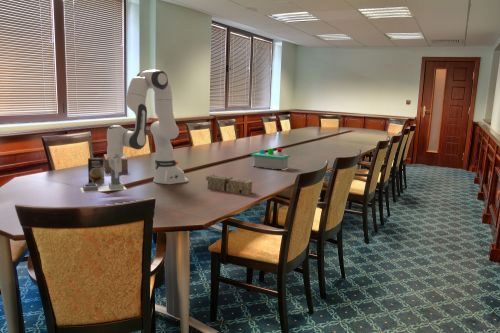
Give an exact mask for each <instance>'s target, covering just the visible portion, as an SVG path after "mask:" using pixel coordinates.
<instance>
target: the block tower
mask: <svg viewBox="0 0 500 333" xmlns="http://www.w3.org/2000/svg"><path fill="white" fill-rule="evenodd" d="M205 180H206V181H207V189H209V190H215V191H216V190H217V191H222V192H229V193H236V194H241V195H247V196H248V195H251V194H252V193H253V192H252V190H253V180H252V179H247V178H240V177H232V176H227V175H219V174H218V175H215V173H211V174H209V175H206V176H205Z"/></svg>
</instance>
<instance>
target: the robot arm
mask: <svg viewBox="0 0 500 333" xmlns="http://www.w3.org/2000/svg"><path fill="white" fill-rule="evenodd" d="M149 89H152V90H153V92H154V96H153V98H154V113H155V115H156V117H157V121H153V122H152V123H151V125H150V127H149V128H150V129H149V130H150V133H151V134H152V137H153V138H152V139H153V142H154V146H155V161H154V168H155V172H154V177H153V182H154V183H156V184H164V185H172V184H174V185H175V184H181V183H188V182H189V179H188V178H187V177H186V176H185V172H184V170H182V168H180V167H179V166H177V165H178V164H179V162H178V161H177V160H175V159H174V148H173V145H172V142H171V140H174V139H176V138H177V137H178V136H179V134H180V129H179V127H178V124H176V119H175V115H174V109H173V92H172V87H171V84H170V83H169V78H168V75H167V74H166V72H164V71H163V70H161V69H147V70H142V71H139V72H138V73H137V74H136V76H134V77H132V78H131V80H130V82H129V86H128V88H127V93H126V97H125V104H126V106H127V107H128V109H129V110H130V111H132V112H133V113H134V115H135V123H134V126H135V127H134V130H129V129H127V128H125V127H123V126H122V125H121V124H120V125H119V124H116V125H115V124H113V125H110V126H108V128H107V132H106V143H107V146H106V154H107V157H108V160H109V166H110V167H111V168H112V169H113V170H114V171H115V175H114V176H115V178H118V174H119V175H120V173H119V172H121V171H122V163H121V157H123V154H124V147H126V148H130V149H131V148H132V149H134V150H138V151H139V150H141V149H143V148H144V147H145V145H146V143H147V135H146V134H147V119H148V117H147V116H148V109H147V106H146V102H147V101H146V100H147V95H148V91H149Z"/></svg>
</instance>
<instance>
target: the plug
mask: <svg viewBox="0 0 500 333" xmlns="http://www.w3.org/2000/svg"><path fill="white" fill-rule="evenodd" d="M114 175H115V171H114V170H113V169H111V174H110V183H112V184H120V182H121V181H120V176H121V175H120V173H119V174H118V178H115V176H114Z"/></svg>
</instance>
